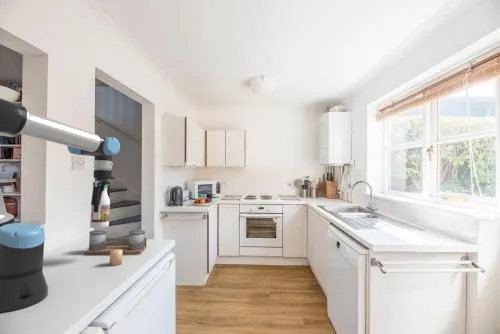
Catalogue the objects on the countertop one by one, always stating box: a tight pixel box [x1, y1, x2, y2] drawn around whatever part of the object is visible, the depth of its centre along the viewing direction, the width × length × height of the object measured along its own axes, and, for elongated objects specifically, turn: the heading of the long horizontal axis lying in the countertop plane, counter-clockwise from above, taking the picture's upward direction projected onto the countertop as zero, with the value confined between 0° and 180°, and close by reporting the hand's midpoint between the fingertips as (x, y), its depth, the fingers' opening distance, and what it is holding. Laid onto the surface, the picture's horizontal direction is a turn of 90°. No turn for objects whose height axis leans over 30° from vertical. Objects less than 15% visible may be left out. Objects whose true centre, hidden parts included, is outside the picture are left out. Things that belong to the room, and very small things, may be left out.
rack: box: [84, 229, 148, 256], centre depth 137 cm, size 13×27×10 cm, turn 98°
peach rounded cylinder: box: [109, 249, 123, 267], centre depth 118 cm, size 5×5×6 cm
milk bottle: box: [89, 185, 111, 229], centre depth 124 cm, size 8×8×20 cm
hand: (100, 218), depth 124 cm, fingers closed on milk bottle, 8 cm apart
